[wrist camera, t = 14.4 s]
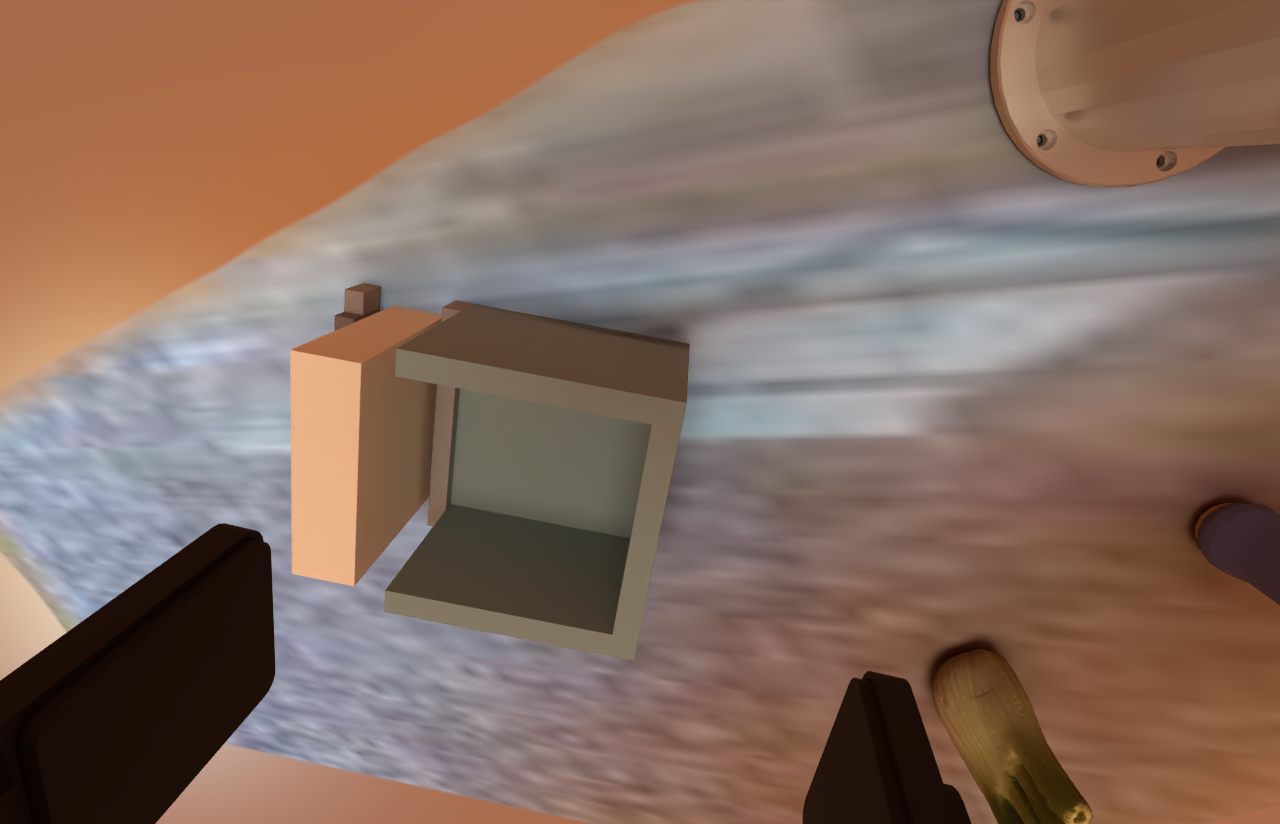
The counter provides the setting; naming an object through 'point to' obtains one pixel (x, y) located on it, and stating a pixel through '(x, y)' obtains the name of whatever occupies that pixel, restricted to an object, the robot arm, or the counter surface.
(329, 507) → the door
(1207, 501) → the counter surface
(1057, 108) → the robot arm
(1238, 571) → the rubber mallet
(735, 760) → the counter surface
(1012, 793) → the fennel bulb
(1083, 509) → the counter surface
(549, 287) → the counter surface
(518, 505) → the cabinet
